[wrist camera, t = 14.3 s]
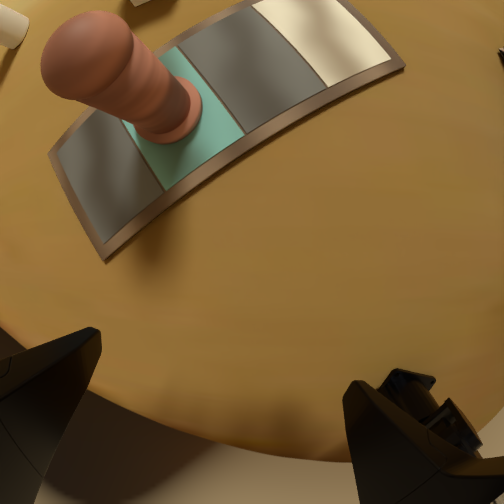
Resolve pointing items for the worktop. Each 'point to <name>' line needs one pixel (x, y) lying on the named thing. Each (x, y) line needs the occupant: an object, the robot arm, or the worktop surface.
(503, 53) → the radio
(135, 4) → the die
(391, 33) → the worktop surface
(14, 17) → the eye dropper bottle
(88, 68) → the pawn
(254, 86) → the game board
